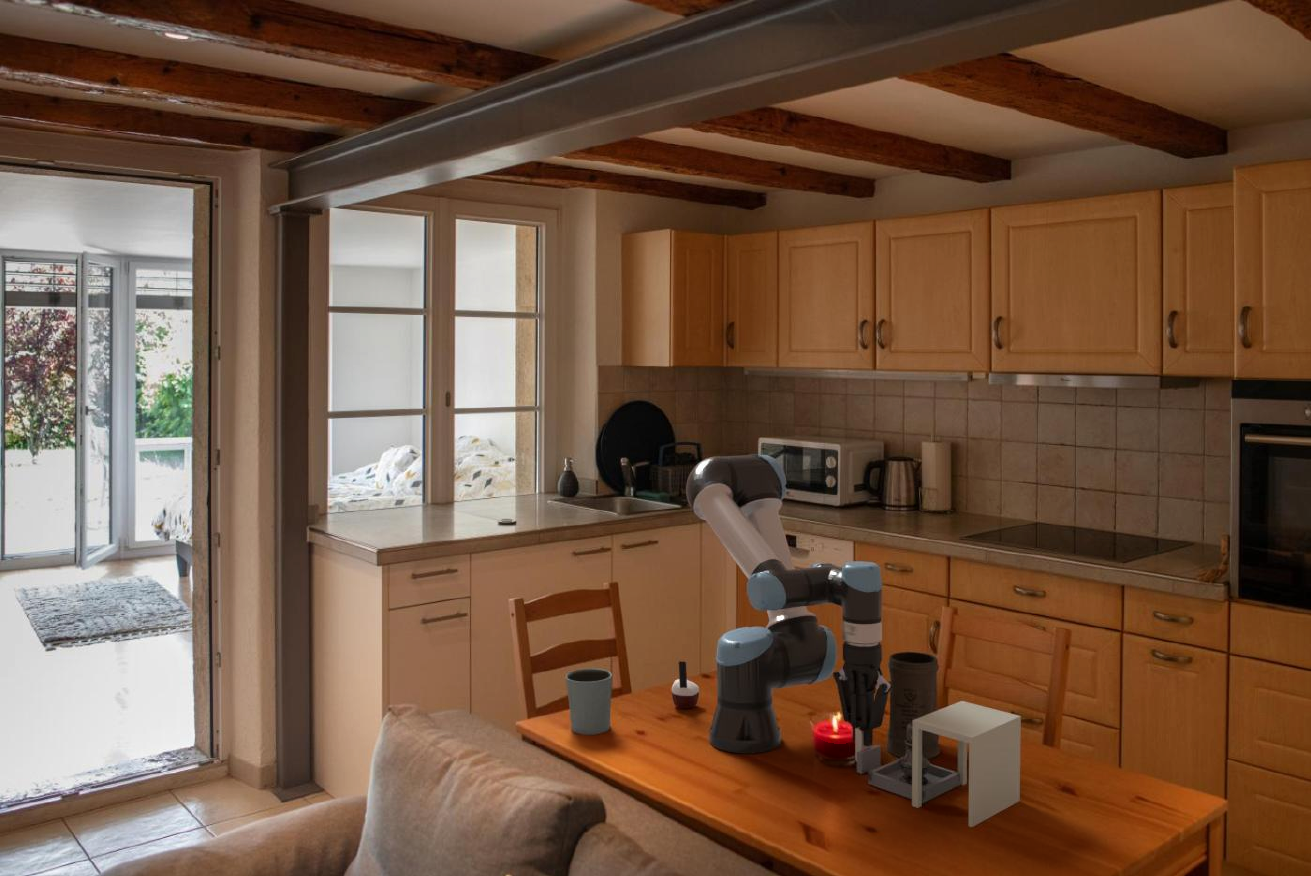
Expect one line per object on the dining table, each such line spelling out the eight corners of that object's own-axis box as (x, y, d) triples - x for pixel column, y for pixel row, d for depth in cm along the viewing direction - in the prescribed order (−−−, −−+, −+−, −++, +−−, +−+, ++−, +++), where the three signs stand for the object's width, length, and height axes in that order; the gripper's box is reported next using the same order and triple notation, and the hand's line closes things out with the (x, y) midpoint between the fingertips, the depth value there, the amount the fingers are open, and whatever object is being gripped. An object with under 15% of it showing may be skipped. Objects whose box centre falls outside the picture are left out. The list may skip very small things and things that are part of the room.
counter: (912, 805, 187) (912, 720, 186) (961, 781, 197) (961, 700, 196) (971, 827, 178) (972, 737, 177) (1019, 800, 189) (1020, 715, 187)
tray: (847, 776, 200) (847, 755, 200) (884, 760, 208) (884, 740, 208) (922, 803, 187) (923, 781, 187) (959, 784, 195) (959, 764, 195)
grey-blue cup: (621, 729, 228) (620, 676, 227) (581, 739, 222) (580, 684, 221) (597, 717, 236) (596, 665, 235) (558, 726, 231) (557, 673, 230)
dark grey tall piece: (903, 787, 193) (904, 723, 192) (894, 774, 199) (894, 713, 198) (934, 785, 193) (935, 722, 192) (924, 773, 199) (924, 712, 198)
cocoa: (682, 701, 248) (681, 651, 248) (706, 704, 245) (705, 653, 245) (662, 711, 240) (661, 659, 240) (686, 714, 237) (685, 662, 237)
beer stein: (942, 763, 207) (942, 662, 207) (886, 759, 209) (887, 659, 209) (937, 741, 222) (937, 647, 222) (885, 737, 224) (886, 645, 224)
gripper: (823, 639, 206) (824, 756, 207) (877, 651, 196) (878, 774, 197) (847, 632, 211) (848, 747, 212) (901, 644, 201) (901, 764, 202)
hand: (862, 759), depth 204 cm, fingers closed
